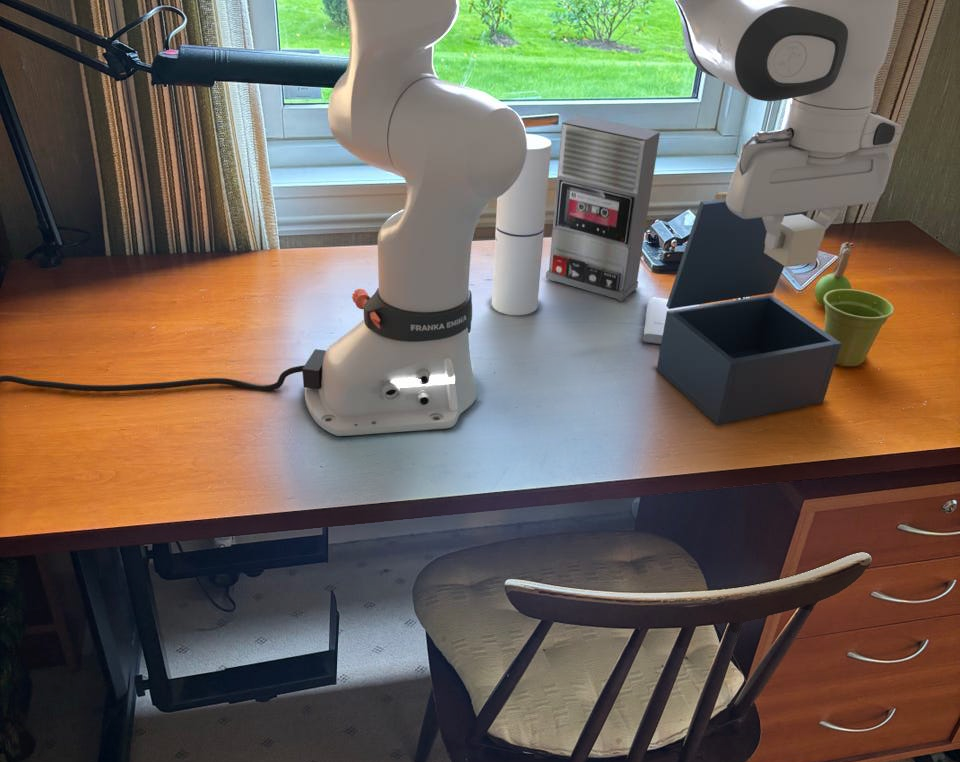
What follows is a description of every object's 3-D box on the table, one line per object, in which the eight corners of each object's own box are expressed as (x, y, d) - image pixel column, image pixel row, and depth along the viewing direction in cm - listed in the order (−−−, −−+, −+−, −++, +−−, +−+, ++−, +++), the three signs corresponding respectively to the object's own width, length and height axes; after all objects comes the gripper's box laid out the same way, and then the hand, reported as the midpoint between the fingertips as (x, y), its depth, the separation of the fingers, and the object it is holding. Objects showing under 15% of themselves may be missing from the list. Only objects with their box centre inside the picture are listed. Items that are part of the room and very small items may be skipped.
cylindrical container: (506, 318, 138) (516, 151, 123) (483, 299, 143) (491, 136, 128) (546, 310, 141) (561, 145, 126) (522, 291, 146) (534, 131, 131)
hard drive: (699, 312, 143) (698, 349, 133) (646, 305, 144) (642, 342, 134) (701, 302, 142) (700, 339, 132) (648, 296, 143) (644, 332, 133)
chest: (823, 402, 122) (841, 343, 117) (716, 425, 117) (731, 363, 112) (756, 350, 133) (770, 294, 128) (656, 369, 128) (666, 310, 123)
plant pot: (800, 340, 137) (815, 287, 131) (862, 342, 137) (879, 289, 132) (819, 372, 129) (836, 316, 124) (885, 374, 129) (904, 319, 124)
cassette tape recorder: (544, 280, 150) (558, 123, 135) (561, 268, 154) (577, 114, 139) (621, 302, 144) (644, 141, 129) (637, 289, 149) (661, 131, 134)
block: (815, 262, 110) (825, 227, 107) (785, 267, 108) (794, 231, 106) (792, 248, 113) (801, 213, 110) (763, 252, 112) (771, 217, 109)
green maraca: (810, 313, 144) (831, 240, 137) (810, 296, 149) (830, 225, 142) (846, 318, 143) (868, 246, 136) (845, 302, 148) (867, 230, 141)
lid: (816, 191, 116) (794, 171, 119) (703, 204, 110) (683, 182, 113) (773, 293, 128) (753, 272, 131) (668, 309, 122) (651, 287, 125)
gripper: (763, 141, 96) (736, 265, 104) (914, 127, 102) (877, 244, 110) (728, 124, 100) (705, 244, 109) (875, 111, 107) (842, 225, 115)
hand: (793, 244), depth 110 cm, fingers closed on block, 4 cm apart
